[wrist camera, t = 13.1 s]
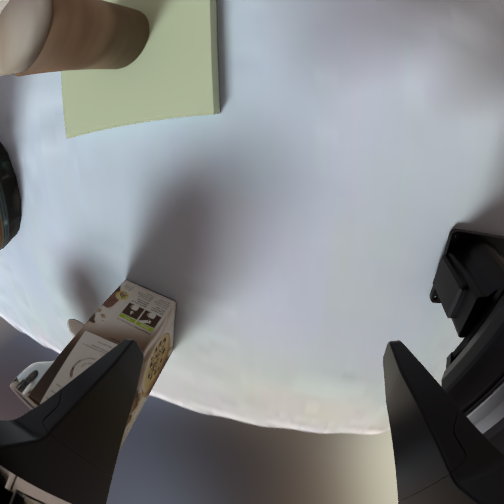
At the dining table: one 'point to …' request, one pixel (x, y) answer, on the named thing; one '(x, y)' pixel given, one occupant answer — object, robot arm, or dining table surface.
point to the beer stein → (8, 200)
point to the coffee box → (117, 342)
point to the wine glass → (37, 371)
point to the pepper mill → (69, 36)
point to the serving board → (151, 72)
